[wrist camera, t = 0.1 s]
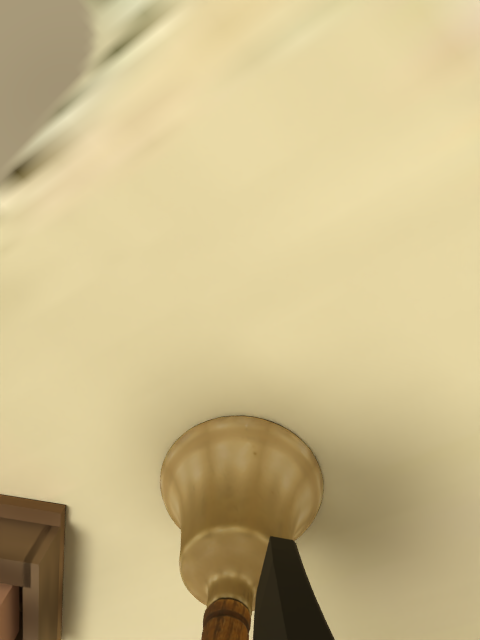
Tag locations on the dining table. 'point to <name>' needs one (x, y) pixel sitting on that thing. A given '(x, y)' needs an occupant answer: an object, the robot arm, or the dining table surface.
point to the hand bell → (236, 510)
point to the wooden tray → (34, 563)
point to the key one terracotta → (9, 611)
